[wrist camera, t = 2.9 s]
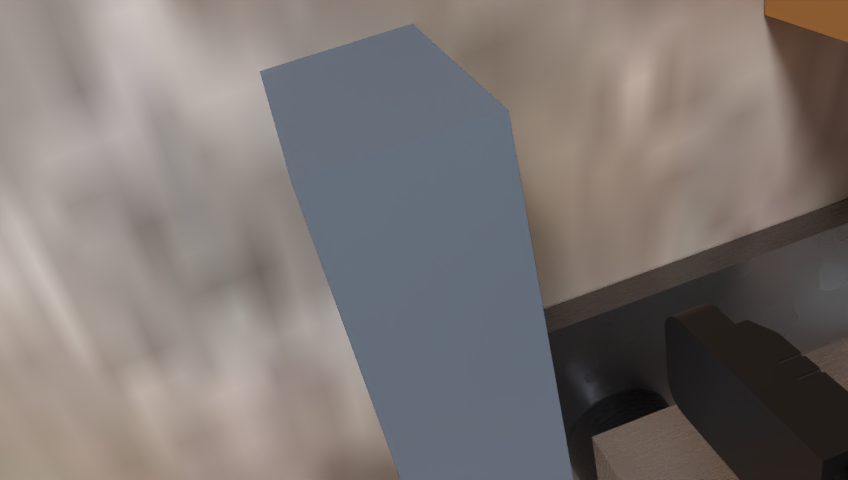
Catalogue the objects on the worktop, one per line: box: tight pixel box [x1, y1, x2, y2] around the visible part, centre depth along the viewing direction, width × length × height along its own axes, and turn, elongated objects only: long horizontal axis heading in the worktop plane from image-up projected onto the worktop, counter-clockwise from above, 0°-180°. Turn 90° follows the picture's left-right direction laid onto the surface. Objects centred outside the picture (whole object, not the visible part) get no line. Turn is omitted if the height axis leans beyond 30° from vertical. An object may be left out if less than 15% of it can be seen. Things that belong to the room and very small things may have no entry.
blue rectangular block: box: [260, 24, 573, 480], centre depth 16 cm, size 4×10×6 cm, turn 13°
